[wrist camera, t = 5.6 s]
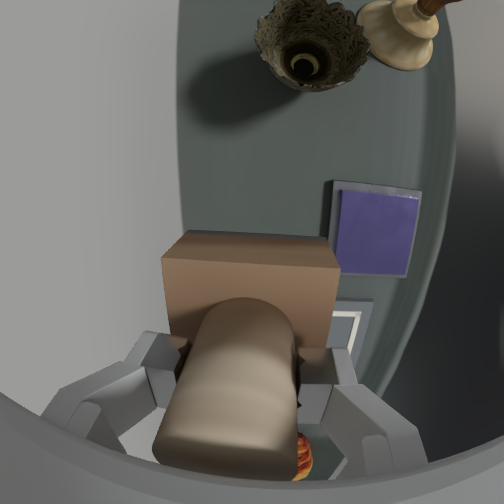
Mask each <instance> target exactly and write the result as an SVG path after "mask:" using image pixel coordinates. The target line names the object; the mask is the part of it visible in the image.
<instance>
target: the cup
mask: <svg viewBox="0 0 504 504" xmlns="http://www.w3.org/2000/svg"><path fill="white" fill-rule="evenodd" d="M355 24H356V19H355V17H354V14H353V12H352V11H350V10H348V11H347V10H346V11H345V8H344V6H343V4H341V3H339V2H335V3H331V4H330V5H328V4H327V2H326V0H276V1H275V2H274V7H273V10H272V11H270V12H268V13H267V15H266V16H265V17H264V18H263V16H260V17H259V19H258V21H257V29H256V31H255V35H254V38H255V42H256V45H257V48H258V50H259V52H260V56H261V58H262V59H263V61H264V62H265V63H266V65H267V66H268V68H269V69H270V71H271V72H272V73H273V75H274V76H275V77H276V78H277V79H278V80H280V81H281V82H282V83H283V84H285V85H287V86H289V87H291V88H293V89H295V90H299V91H303V92H321V91H325V90H329V89H332V88H334V87H337V86H339V85H342V84H344V83H346V82H349V81H351V80H353V79H354V78H355V77H356V76H355V75H356V73H357V72H358V71H360V68H361V66H362V65H364V63H365V62H367V60H368V56H367V54H368V52H369V50H370V48H371V42H370V41H369V40H368V39H367V38H365V37H364V35H363V34H364V32H365V26H364V25H361V24H359V25H355ZM301 59H306V60H308V61H310V62H311V63H312V65H313V71H312V72H311V73H310V74H308V75H301V74H299V73H298V72H297V71H296V70H295V63H296V62H297V61H298V60H301Z"/></svg>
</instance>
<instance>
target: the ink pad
mask: <svg viewBox="0 0 504 504" xmlns="http://www.w3.org/2000/svg"><path fill="white" fill-rule="evenodd" d="M421 196H422V191H420V190H415V189H408V188H401V187H394V186H386V185H378V184H370V183H361V182H352V181H342V180H332V189H331V201H330V213H329V223H328V233H327V241H328V243H329V245H330V247H331V249H332V251H333V253H334V255H335V257H336V259H337V261H338V264H339V266H340V268H341V271H340V276H362V277H390V278H406V276H407V272H408V268H409V264H410V259H411V255H412V250H413V245H414V240H415V235H416V229H417V223H418V217H419V211H420V204H421Z"/></svg>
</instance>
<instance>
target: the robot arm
mask: <svg viewBox="0 0 504 504" xmlns="http://www.w3.org/2000/svg"><path fill="white" fill-rule="evenodd" d="M192 345H193V344H192V339H191V338H189V337H182V336H176V335H170V334H164V333H157V332H152V331H145V332H143V333H142V335H141V336H140V338H139V339H138V341H137V342H136V344H135V345H134V347H133V348H132V350H131V351H130V353H129V354H128V356H127V357H126V359H125V360H124V362H121V361H119V362H117V363H114V364H112V365H110V366H108V367H106V368H104V369H102V370H100V371H98V372H96V373H93V374H91V375H89V376H87V377H85V378H83V379H81V380H79V381H76V382H74V383H72V384H70V385H67V386H65V387H63V388H61V389H60V390H59V391H58V392H57V394H56V395H55V396H54V398H53V399H52V401H51V402H50V403H49V405H48V406H47V407H46V409H45V410H44V412H43V413H42V414H41V416H38V415H36V414H35V413H32V412H31V411H29V410H28V409H26V408H24V407H23V406H21V405H19V404H18V403H16V402H15V401H13V400H12V399H10V398H8V397H7V396H5V395H4V394H2V393H1V392H0V504H504V435H503V436H501V437H499V438H497V439H495V440H493V441H490V442H488V443H486V444H483V445H481V446H478V447H476V448H473V449H471V450H468V451H466V452H463V453H460V454H457V455H454V456H451V457H448V458H445V459H442V460H439V461H436V462H432V463H428V461H427V458H426V454H425V451H424V448H423V445H422V442H421V439H420V436H419V433H418V430H417V428H416V427H415V426H414V425H413V424H411V423H410V422H409V421H407V420H406V419H405V418H403V417H402V416H401V415H400V414H399V413H397V412H396V411H395V410H394V409H392V408H391V407H390V406H389V405H387V404H386V403H385V402H384V401H382V400H381V399H380V398H379V397H378V396H376V395H375V394H374V393H373V392H372V391H370V390H369V389H368V388H367V387H365V386H364V385H363V384H358V383H357V379H356V375H355V372H354V368H353V364H352V361H351V357H350V354H349V350H348V348H347V347H330V348H322V347H298V348H297V352H296V388H297V423H307V424H320V426H321V427H322V428H323V429H324V431H325V432H326V433H327V435H328V436H329V437H330V438H331V440H332V441H333V442H334V443H335V445H336V446H337V447H338V448H339V450H340V451H341V452H342V453H343V455H344V456H345V457H346V458H347V460H348V462H347V464H346V465H345V467H344V468H343V470H342V471H341V472H340V474H339V475H338V476H337V478H336V480H320V481H269V480H253V479H242V478H232V477H224V476H217V475H210V474H204V473H199V472H193V471H188V470H183V469H179V468H174V467H170V466H166V465H162V464H158V463H154V462H150V461H147V460H143V459H140V458H137V457H133V456H130V455H127V453H126V451H125V449H124V447H123V446H122V444H121V443H120V441H119V440H118V437H119V436H120V435H122V434H123V433H125V432H126V431H127V430H129V429H130V428H131V427H133V426H134V425H135V424H137V423H138V422H139V421H141V420H142V419H143V418H144V417H146V416H147V415H148V414H150V413H151V412H152V411H154V410H155V409H156V408H157V407H160V408H165V409H167V407H168V404H169V402H170V399H171V397H172V394H173V392H174V389H175V387H176V384H177V382H178V379H179V377H180V374H181V372H182V369H183V367H184V364H185V362H186V359H187V357H188V355H189V352H190V350H191V347H192Z"/></svg>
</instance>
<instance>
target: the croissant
mask: <svg viewBox="0 0 504 504" xmlns="http://www.w3.org/2000/svg"><path fill="white" fill-rule="evenodd" d="M312 463H313V460H312V455H311V449H310V446H309V439H308V438H307V437H306V436H305V435H303V434H302V433H298V473H297V475H296V477H295V478H294V479H293V480H292V481H297V480H300V479H301V478H304V477H306V476H307V475H308V473H309V472H310V470H311V467H312Z"/></svg>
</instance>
